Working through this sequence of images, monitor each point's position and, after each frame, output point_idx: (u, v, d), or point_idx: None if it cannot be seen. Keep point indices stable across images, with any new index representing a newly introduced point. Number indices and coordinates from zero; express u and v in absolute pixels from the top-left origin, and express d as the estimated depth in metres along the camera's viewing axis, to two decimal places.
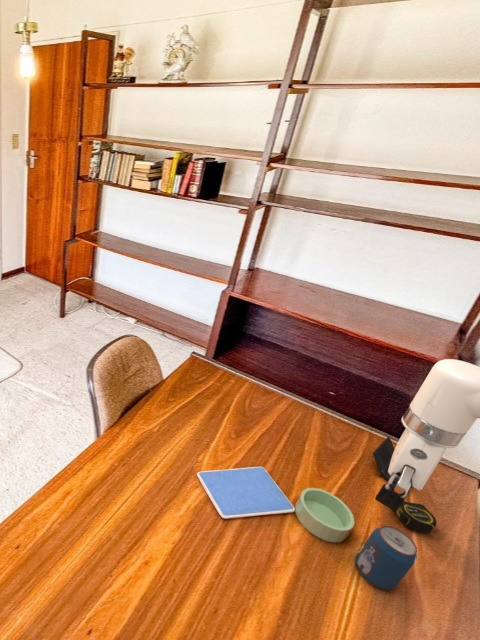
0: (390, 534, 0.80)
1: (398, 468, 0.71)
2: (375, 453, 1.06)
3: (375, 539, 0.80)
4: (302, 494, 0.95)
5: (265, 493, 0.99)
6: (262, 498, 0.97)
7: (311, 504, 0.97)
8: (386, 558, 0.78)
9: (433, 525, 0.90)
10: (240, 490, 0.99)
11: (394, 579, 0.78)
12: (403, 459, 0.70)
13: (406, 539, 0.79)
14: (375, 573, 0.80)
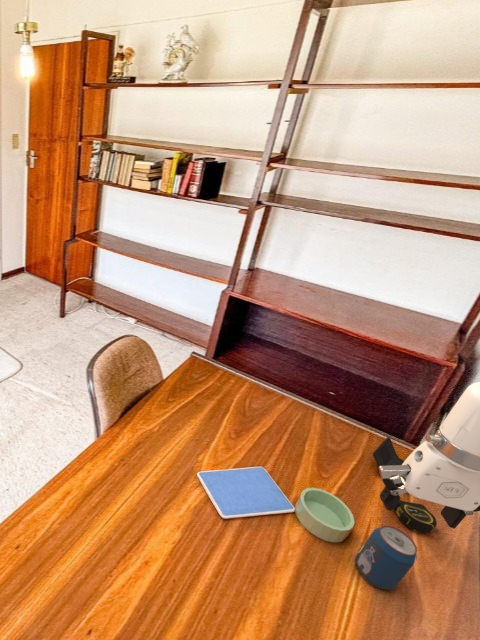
0: (390, 534, 0.80)
1: None
2: (375, 453, 1.06)
3: (375, 539, 0.80)
4: (302, 494, 0.95)
5: (265, 493, 0.99)
6: (262, 498, 0.97)
7: (311, 504, 0.97)
8: (386, 558, 0.78)
9: (433, 525, 0.90)
10: (240, 490, 0.99)
11: (394, 579, 0.78)
12: (408, 459, 0.72)
13: (406, 539, 0.79)
14: (375, 573, 0.80)
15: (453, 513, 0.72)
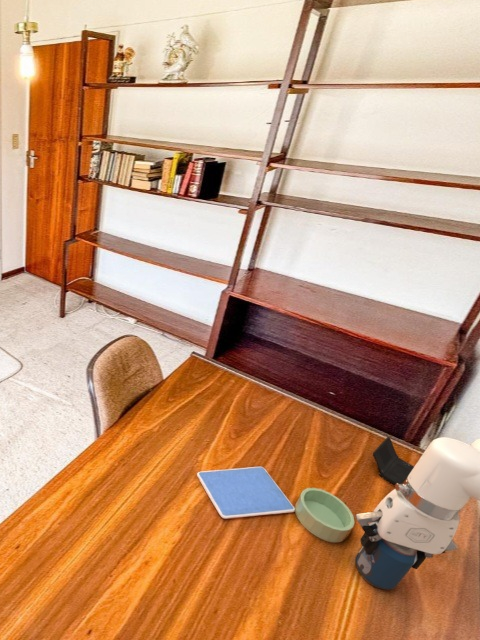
0: None
1: None
2: (375, 453, 1.06)
3: None
4: (302, 494, 0.95)
5: (265, 493, 0.99)
6: (262, 498, 0.97)
7: (311, 504, 0.97)
8: (386, 558, 0.78)
9: None
10: (240, 490, 0.99)
11: (394, 579, 0.78)
12: (380, 504, 0.78)
13: None
14: (375, 573, 0.80)
15: None
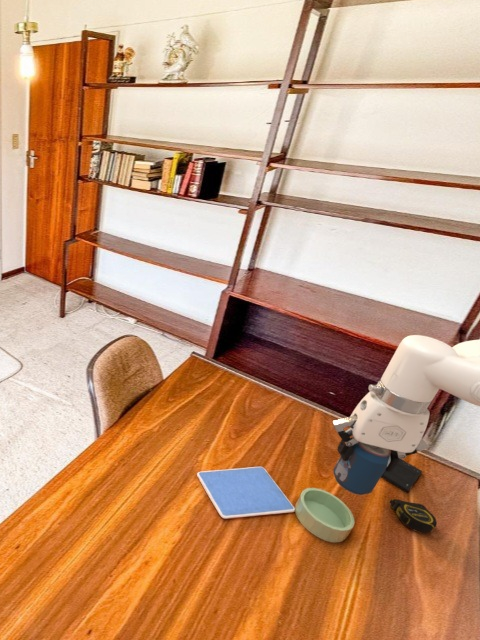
0: None
1: None
2: None
3: None
4: (302, 494, 0.95)
5: (265, 493, 0.99)
6: (262, 498, 0.97)
7: (311, 504, 0.97)
8: (361, 461, 0.81)
9: (433, 525, 0.90)
10: (240, 490, 0.99)
11: (369, 482, 0.81)
12: (356, 409, 0.81)
13: None
14: (351, 479, 0.83)
15: None
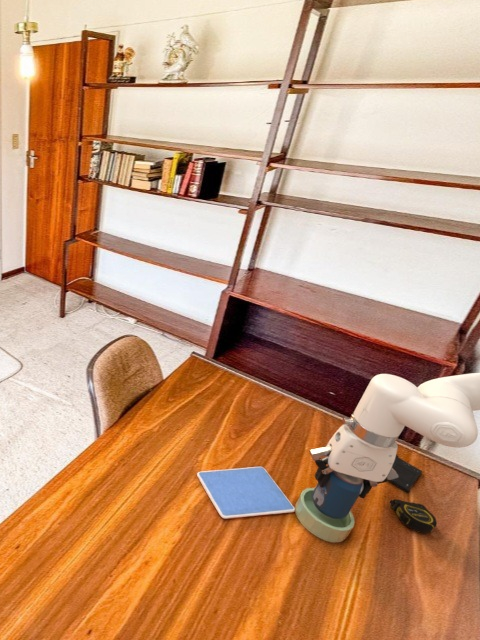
0: None
1: None
2: None
3: None
4: (302, 494, 0.95)
5: (265, 493, 0.99)
6: (262, 498, 0.97)
7: (311, 504, 0.97)
8: (336, 488, 0.86)
9: (433, 525, 0.90)
10: (240, 490, 0.99)
11: (344, 508, 0.87)
12: (331, 439, 0.86)
13: None
14: (327, 504, 0.88)
15: None
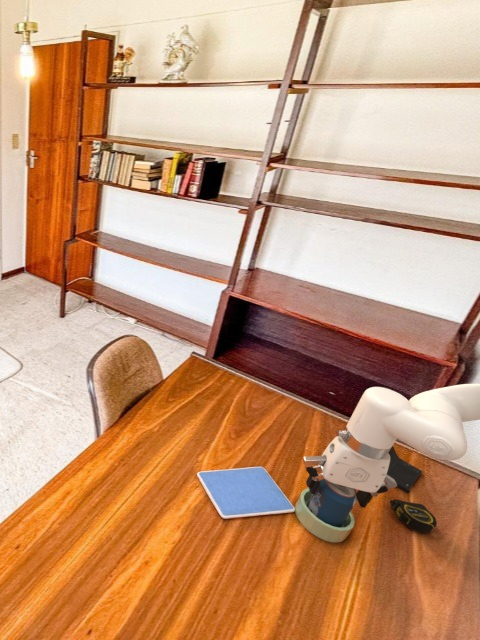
0: None
1: None
2: None
3: (321, 486, 0.90)
4: (302, 494, 0.95)
5: (265, 493, 0.99)
6: (262, 498, 0.97)
7: None
8: (329, 501, 0.88)
9: (433, 525, 0.90)
10: (240, 490, 0.99)
11: (337, 520, 0.88)
12: (325, 450, 0.88)
13: None
14: (321, 516, 0.90)
15: (363, 495, 0.87)
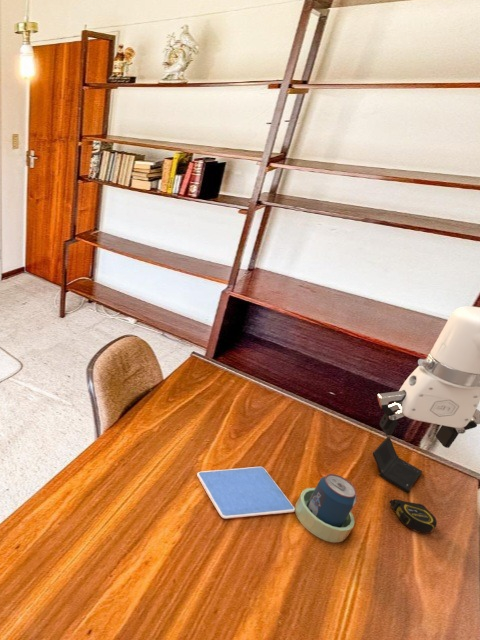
0: (334, 481, 0.90)
1: None
2: (375, 453, 1.06)
3: (321, 486, 0.90)
4: (302, 494, 0.95)
5: (265, 493, 0.99)
6: (262, 498, 0.97)
7: None
8: (329, 501, 0.88)
9: (433, 525, 0.90)
10: (240, 490, 0.99)
11: (337, 520, 0.88)
12: (403, 385, 0.79)
13: (348, 485, 0.89)
14: (321, 516, 0.90)
15: (447, 433, 0.79)
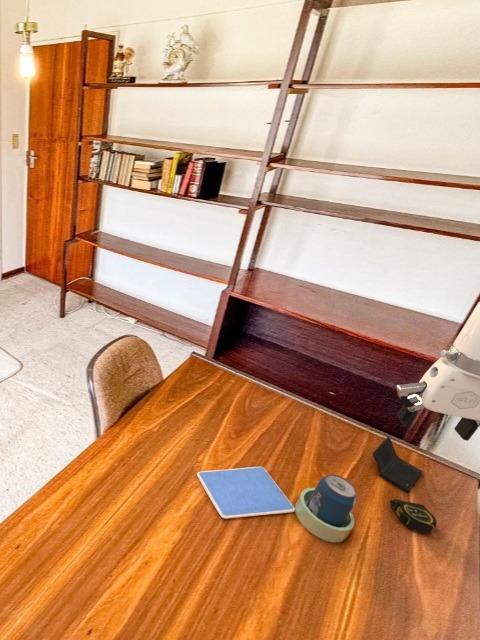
0: (334, 481, 0.90)
1: None
2: (375, 453, 1.06)
3: (321, 486, 0.90)
4: (302, 494, 0.95)
5: (265, 493, 0.99)
6: (262, 498, 0.97)
7: None
8: (329, 501, 0.88)
9: (433, 525, 0.90)
10: (240, 490, 0.99)
11: (337, 520, 0.88)
12: (424, 377, 0.78)
13: (348, 485, 0.89)
14: (321, 516, 0.90)
15: (466, 426, 0.78)
